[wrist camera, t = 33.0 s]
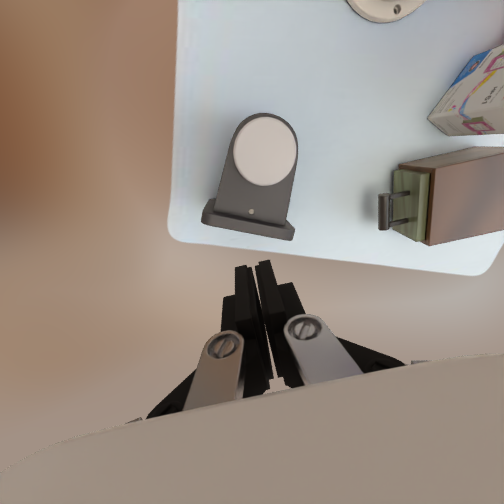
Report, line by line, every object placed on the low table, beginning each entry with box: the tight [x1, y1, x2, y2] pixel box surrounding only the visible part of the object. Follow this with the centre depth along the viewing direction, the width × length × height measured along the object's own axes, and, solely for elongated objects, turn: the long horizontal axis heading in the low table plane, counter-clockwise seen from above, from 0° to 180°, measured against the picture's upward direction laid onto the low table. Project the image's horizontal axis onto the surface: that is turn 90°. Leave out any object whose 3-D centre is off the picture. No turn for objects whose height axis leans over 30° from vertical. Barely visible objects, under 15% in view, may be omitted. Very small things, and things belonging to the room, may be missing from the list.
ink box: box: [428, 45, 504, 136], centre depth 28 cm, size 9×5×12 cm, turn 150°
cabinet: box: [398, 147, 504, 246], centre depth 35 cm, size 11×10×7 cm
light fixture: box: [201, 113, 298, 241], centre depth 31 cm, size 11×13×11 cm
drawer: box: [378, 169, 431, 242], centre depth 35 cm, size 14×9×6 cm, turn 102°
